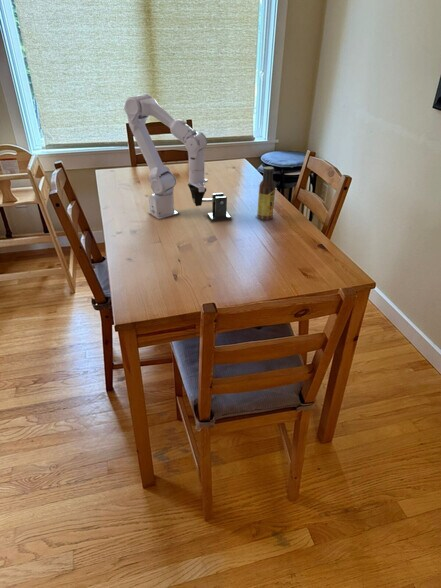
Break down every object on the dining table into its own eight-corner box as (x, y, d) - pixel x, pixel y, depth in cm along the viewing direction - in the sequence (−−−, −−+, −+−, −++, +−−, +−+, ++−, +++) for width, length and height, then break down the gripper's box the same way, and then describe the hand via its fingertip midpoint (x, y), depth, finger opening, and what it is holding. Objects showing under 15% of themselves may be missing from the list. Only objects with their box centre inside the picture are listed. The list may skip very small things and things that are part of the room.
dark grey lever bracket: (211, 221, 159) (211, 199, 154) (207, 215, 164) (207, 193, 158) (231, 219, 161) (231, 197, 156) (226, 213, 166) (226, 191, 160)
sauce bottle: (271, 221, 160) (276, 171, 149) (256, 220, 161) (259, 170, 150) (273, 215, 165) (277, 166, 154) (258, 213, 166) (261, 164, 155)
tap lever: (194, 205, 155) (194, 198, 153) (192, 202, 157) (192, 195, 155) (223, 204, 158) (224, 197, 157) (221, 202, 160) (222, 194, 159)
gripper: (212, 173, 144) (212, 209, 152) (202, 162, 155) (202, 196, 163) (193, 175, 142) (194, 211, 150) (184, 163, 154) (185, 197, 161)
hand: (197, 203), depth 156 cm, fingers closed on tap lever, 3 cm apart
